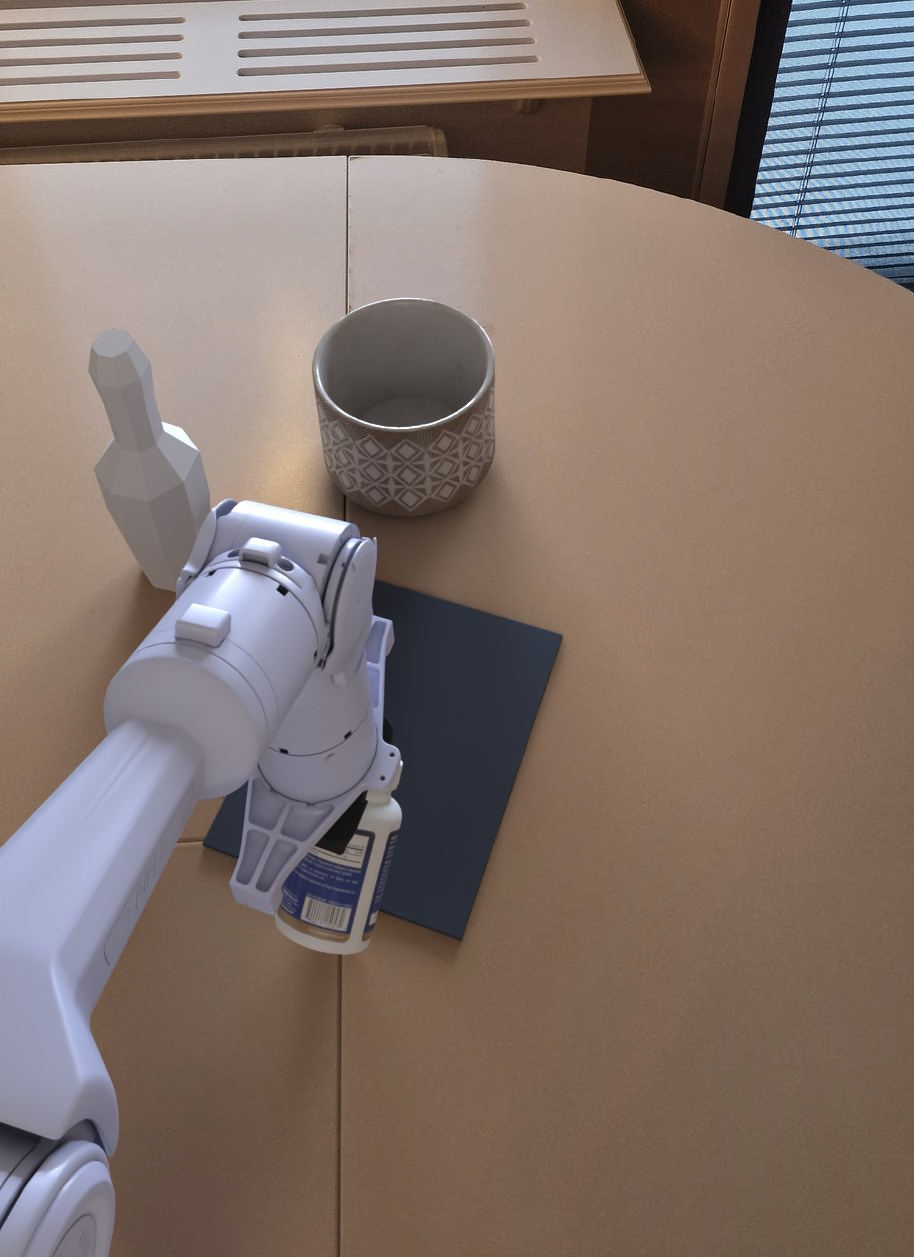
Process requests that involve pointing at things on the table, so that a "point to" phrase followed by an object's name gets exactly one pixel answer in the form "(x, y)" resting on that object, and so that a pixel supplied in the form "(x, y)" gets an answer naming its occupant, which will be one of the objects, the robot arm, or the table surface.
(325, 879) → the pill bottle
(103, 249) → the table surface
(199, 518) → the faceted bottle
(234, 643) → the robot arm
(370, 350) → the planter
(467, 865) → the mat
